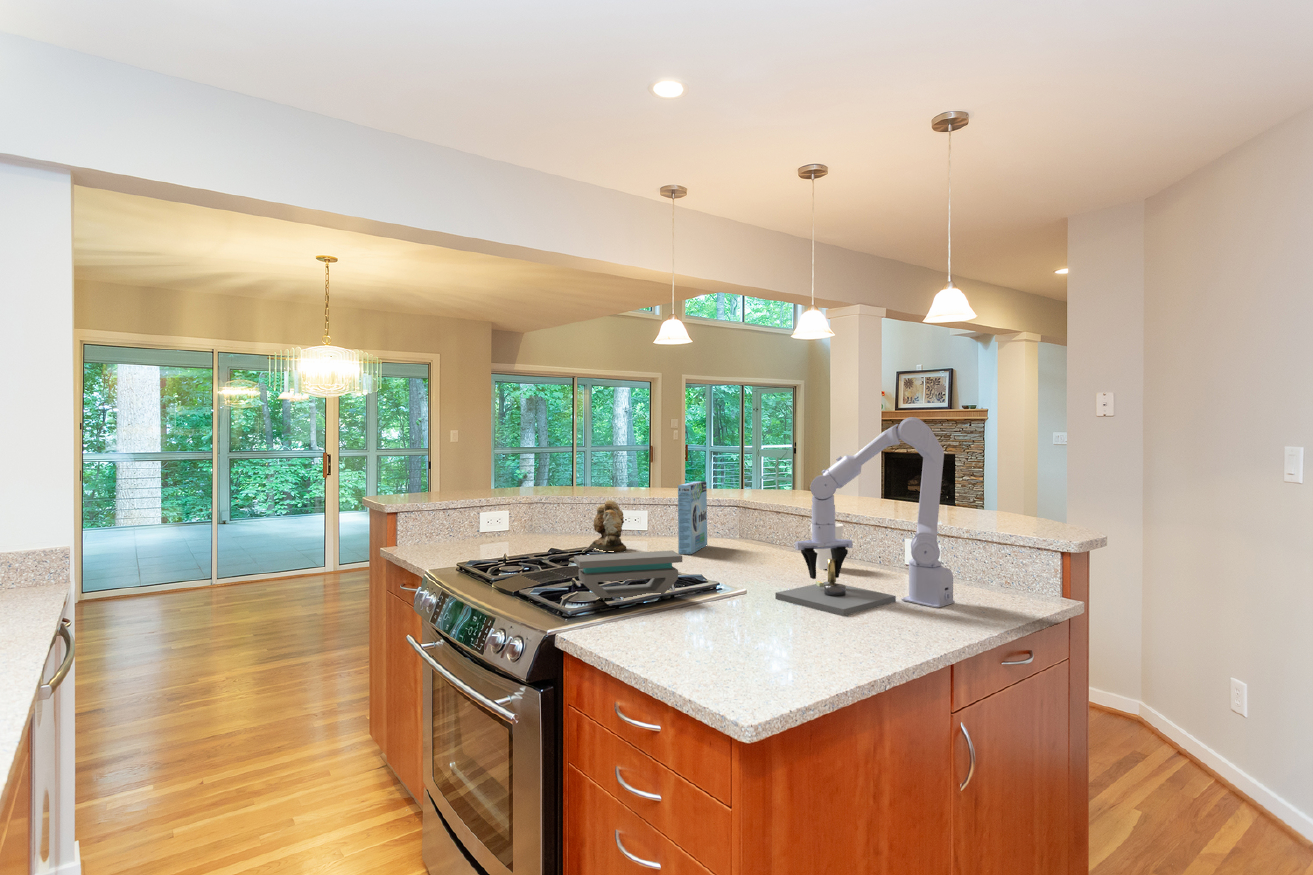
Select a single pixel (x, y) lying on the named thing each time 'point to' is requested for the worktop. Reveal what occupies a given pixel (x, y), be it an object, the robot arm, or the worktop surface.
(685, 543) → the gum box
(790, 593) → the dial plate
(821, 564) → the foam cup
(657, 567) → the sharpening stone
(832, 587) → the crank
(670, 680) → the worktop surface
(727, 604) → the worktop surface
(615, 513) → the brown stone sculpture
